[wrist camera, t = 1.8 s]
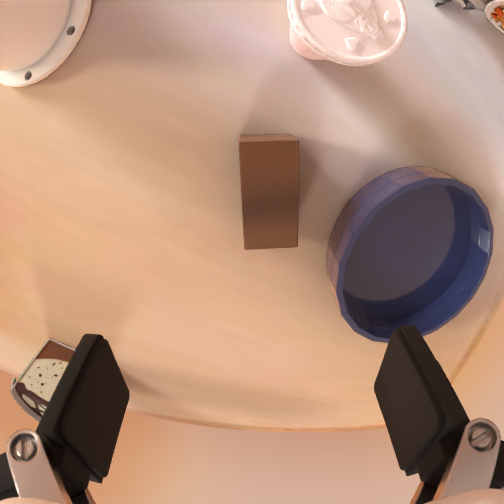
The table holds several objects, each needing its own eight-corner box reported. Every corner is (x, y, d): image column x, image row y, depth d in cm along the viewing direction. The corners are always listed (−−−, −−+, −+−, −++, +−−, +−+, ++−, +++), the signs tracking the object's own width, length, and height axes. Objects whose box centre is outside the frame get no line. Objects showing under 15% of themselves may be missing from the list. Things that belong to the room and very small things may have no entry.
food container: (42, 361, 35) (15, 413, 26) (39, 333, 33) (6, 388, 24) (119, 392, 38) (102, 451, 29) (123, 368, 35) (103, 433, 26)
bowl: (331, 162, 25) (346, 174, 21) (483, 172, 25) (508, 184, 21) (319, 326, 33) (326, 352, 29) (449, 309, 33) (464, 329, 29)
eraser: (239, 135, 23) (238, 141, 20) (290, 133, 23) (299, 140, 20) (244, 228, 27) (244, 250, 24) (290, 226, 27) (297, 247, 24)
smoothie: (313, -10, 18) (380, -92, 5) (367, 47, 20) (478, 19, 8) (254, 34, 20) (268, -38, 7) (310, 91, 22) (388, 88, 9)
